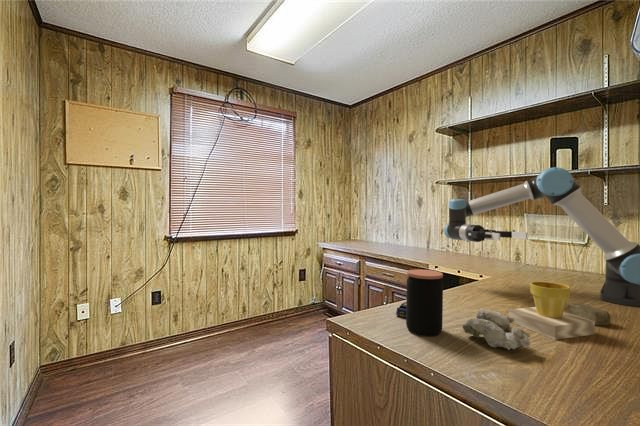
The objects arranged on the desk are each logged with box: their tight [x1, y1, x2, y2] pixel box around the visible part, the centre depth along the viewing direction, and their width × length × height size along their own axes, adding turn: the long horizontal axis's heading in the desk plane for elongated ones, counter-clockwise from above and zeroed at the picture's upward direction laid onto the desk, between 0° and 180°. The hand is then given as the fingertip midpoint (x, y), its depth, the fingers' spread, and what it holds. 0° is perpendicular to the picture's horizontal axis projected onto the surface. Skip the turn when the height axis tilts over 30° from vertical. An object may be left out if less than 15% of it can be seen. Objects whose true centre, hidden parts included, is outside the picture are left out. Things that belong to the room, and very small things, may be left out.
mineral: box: [462, 308, 531, 351], centre depth 89 cm, size 12×17×10 cm
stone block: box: [566, 302, 611, 327], centre depth 110 cm, size 6×12×5 cm, turn 8°
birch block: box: [508, 306, 596, 341], centre depth 103 cm, size 16×16×4 cm
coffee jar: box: [405, 268, 444, 337], centre depth 99 cm, size 11×11×18 cm
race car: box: [395, 301, 406, 319], centre depth 116 cm, size 15×7×4 cm, turn 150°
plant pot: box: [529, 280, 571, 318], centre depth 103 cm, size 10×10×10 cm
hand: (513, 236), depth 124 cm, fingers open, 13 cm apart
